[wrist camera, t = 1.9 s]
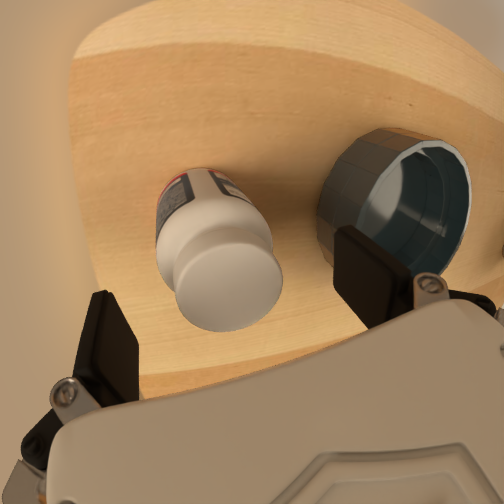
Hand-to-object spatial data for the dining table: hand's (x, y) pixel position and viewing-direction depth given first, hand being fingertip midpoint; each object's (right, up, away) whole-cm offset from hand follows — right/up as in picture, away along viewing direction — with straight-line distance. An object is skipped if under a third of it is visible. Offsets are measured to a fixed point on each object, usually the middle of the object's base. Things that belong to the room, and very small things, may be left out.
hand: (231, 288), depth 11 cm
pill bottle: (-3, +4, +6) cm, 8 cm away
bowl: (+11, +5, +10) cm, 16 cm away
